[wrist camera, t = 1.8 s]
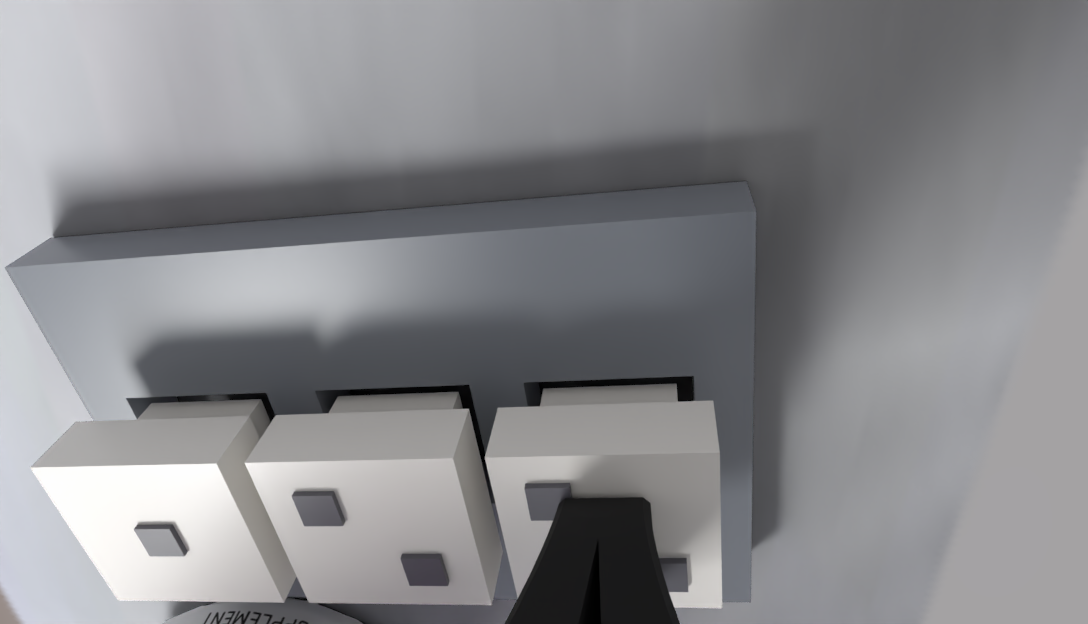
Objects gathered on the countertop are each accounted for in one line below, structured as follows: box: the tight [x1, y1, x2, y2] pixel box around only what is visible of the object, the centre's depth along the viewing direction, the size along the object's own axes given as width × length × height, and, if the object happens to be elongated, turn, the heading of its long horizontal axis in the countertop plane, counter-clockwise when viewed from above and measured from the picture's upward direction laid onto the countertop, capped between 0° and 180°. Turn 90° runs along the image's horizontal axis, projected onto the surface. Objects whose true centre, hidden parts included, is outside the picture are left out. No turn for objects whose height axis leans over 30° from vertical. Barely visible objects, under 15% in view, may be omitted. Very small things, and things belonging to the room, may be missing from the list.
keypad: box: [5, 181, 756, 602], centre depth 15 cm, size 9×13×1 cm
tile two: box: [245, 392, 503, 605], centre depth 13 cm, size 4×4×2 cm
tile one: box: [30, 399, 297, 603], centre depth 14 cm, size 4×4×2 cm
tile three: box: [485, 384, 722, 608], centre depth 13 cm, size 4×4×2 cm
